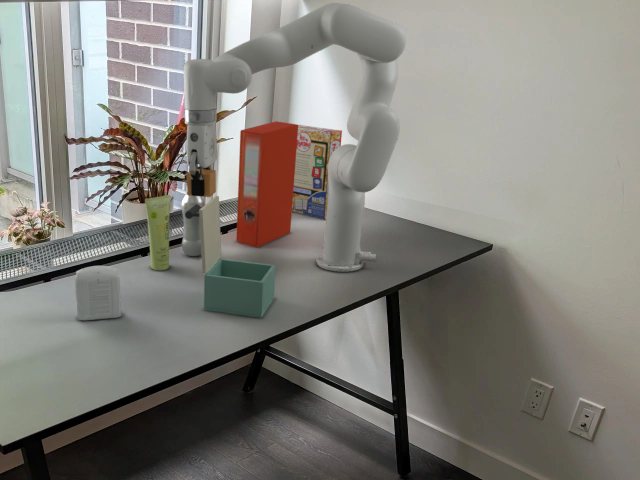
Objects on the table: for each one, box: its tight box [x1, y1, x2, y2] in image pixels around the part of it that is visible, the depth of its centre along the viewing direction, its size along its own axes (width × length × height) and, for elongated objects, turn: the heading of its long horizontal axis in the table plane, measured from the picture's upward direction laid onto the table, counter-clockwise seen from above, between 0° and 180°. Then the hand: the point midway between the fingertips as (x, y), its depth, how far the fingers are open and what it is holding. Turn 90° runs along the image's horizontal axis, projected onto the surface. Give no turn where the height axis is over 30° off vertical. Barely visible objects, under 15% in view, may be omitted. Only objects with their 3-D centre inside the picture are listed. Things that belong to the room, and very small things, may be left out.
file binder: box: [235, 120, 299, 248], centre depth 212 cm, size 8×17×32 cm, turn 140°
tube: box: [144, 194, 171, 271], centre depth 193 cm, size 6×5×20 cm
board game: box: [292, 124, 343, 220], centre depth 236 cm, size 20×6×27 cm, turn 46°
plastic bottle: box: [180, 183, 206, 257], centre depth 202 cm, size 6×7×20 cm
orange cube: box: [186, 169, 217, 198], centre depth 181 cm, size 6×5×6 cm
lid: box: [185, 195, 222, 274], centre depth 171 cm, size 15×12×5 cm
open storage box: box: [203, 258, 277, 319], centre depth 174 cm, size 14×12×9 cm
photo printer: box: [74, 265, 122, 321], centre depth 167 cm, size 10×4×12 cm, turn 103°
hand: (201, 192), depth 182 cm, fingers closed on orange cube, 4 cm apart
